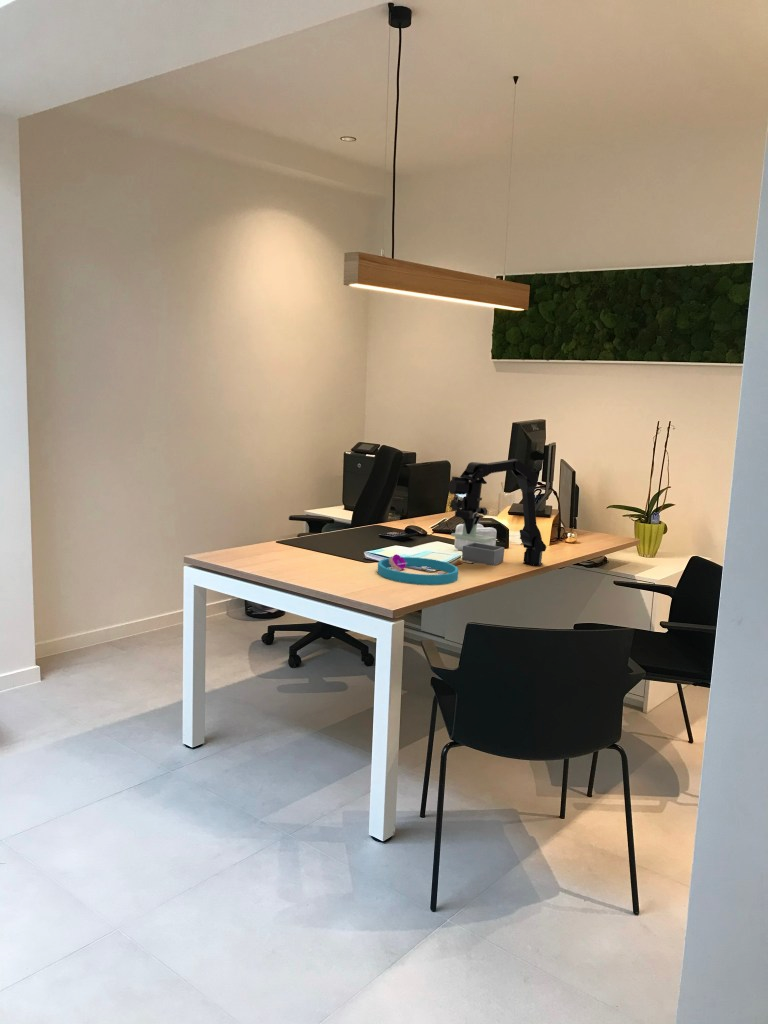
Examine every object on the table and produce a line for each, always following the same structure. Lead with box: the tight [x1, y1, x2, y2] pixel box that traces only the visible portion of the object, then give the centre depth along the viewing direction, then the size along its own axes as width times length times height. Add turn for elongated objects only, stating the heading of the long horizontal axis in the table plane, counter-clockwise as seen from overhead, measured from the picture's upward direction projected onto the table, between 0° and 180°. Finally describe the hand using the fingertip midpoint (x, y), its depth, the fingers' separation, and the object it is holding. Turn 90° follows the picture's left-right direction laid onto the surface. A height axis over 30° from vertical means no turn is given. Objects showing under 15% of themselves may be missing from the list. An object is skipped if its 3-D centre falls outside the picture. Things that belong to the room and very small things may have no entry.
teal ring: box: [377, 554, 459, 586], centre depth 307 cm, size 30×30×6 cm
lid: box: [450, 522, 495, 543], centre depth 330 cm, size 14×11×7 cm
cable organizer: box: [453, 523, 497, 551], centre depth 359 cm, size 15×11×12 cm
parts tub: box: [461, 542, 505, 566], centre depth 341 cm, size 14×11×6 cm
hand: (469, 533), depth 326 cm, fingers closed on lid
